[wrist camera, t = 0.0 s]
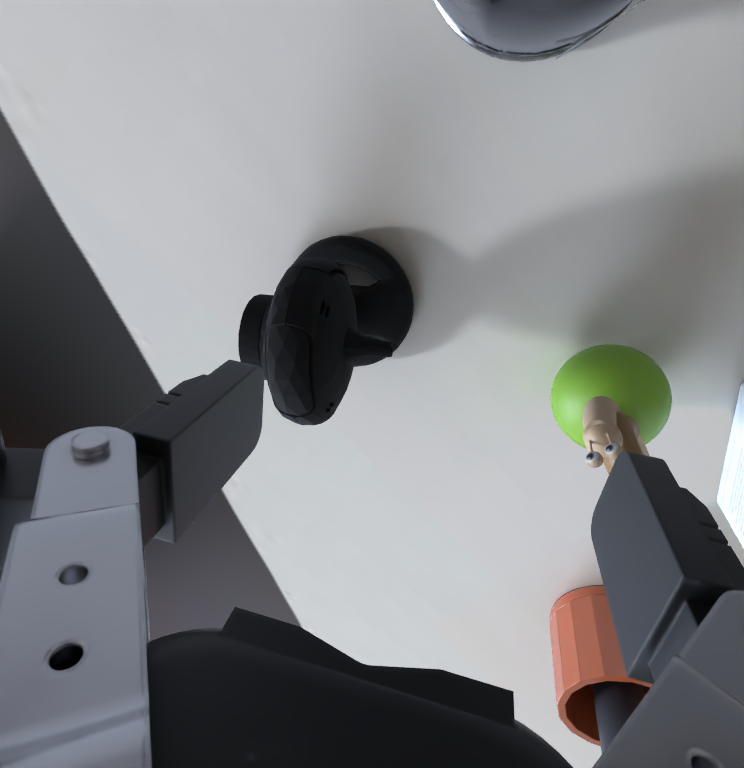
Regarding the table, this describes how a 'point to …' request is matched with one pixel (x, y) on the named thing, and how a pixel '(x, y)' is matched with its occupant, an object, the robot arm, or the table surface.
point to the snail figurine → (611, 401)
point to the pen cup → (584, 657)
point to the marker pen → (614, 707)
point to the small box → (734, 473)
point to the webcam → (325, 325)
